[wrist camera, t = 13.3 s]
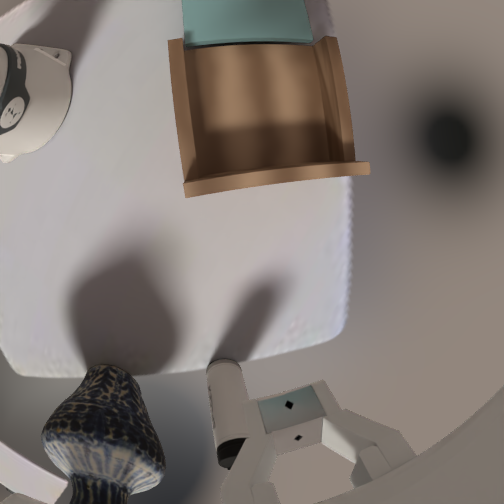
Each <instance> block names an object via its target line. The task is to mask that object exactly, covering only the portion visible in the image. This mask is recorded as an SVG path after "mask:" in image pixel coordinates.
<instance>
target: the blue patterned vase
mask: <svg viewBox="0 0 504 504" xmlns="http://www.w3.org/2000/svg"><path fill="white" fill-rule="evenodd" d="M41 438H42V443H43V447H44V449H45V451H46V453H47V455H48V456H49V458H50V459H51V460H52V462H53V463H54V464H55V465H56V466H57V467H58V468H59V469H60V470H62V471H63V472H64V473H65V474H66V475H67V476H68V477H69V478H70V480H71V482H72V487H73V496H72V499H71V501H70V504H127V500H128V498H129V496H130V495H131V494H134V493H138V492H142V491H146V490H148V489H151V488H152V487H154V486H156V485H157V484H159V483H160V482H161V480H162V479H163V477H164V475H165V468H166V464H165V456H164V452H163V449H162V446H161V443H160V441H159V438H158V436H157V434H156V432H155V430H154V427H153V426H152V423H151V421H150V418H149V416H148V412H147V409H146V406H145V404H144V401H143V399H142V396H141V391H140V387H139V385H138V383H137V382H136V380H135V379H134V378H133V377H132V376H131V375H129V374H128V373H126V372H124V371H123V370H121V369H119V368H116V367H114V366H108V365H106V366H103V365H98V366H94V367H93V368H91V369H89V370H88V371H87V373H86V376H85V378H84V380H83V381H82V383H81V385H80V386H79V387H78V388H77V390H76V391H75V392H74V393H73V394H72V395H71V396H69V397H68V398H67V399H66V400H65V401H64V402H63V403H62V404H60V406H58V408H56V410H55V411H54V413H53V414H52V415H51V416H50V418H49V420H48V421H47V422H46V424H45V426H44V428H43V431H42V434H41Z"/></svg>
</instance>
